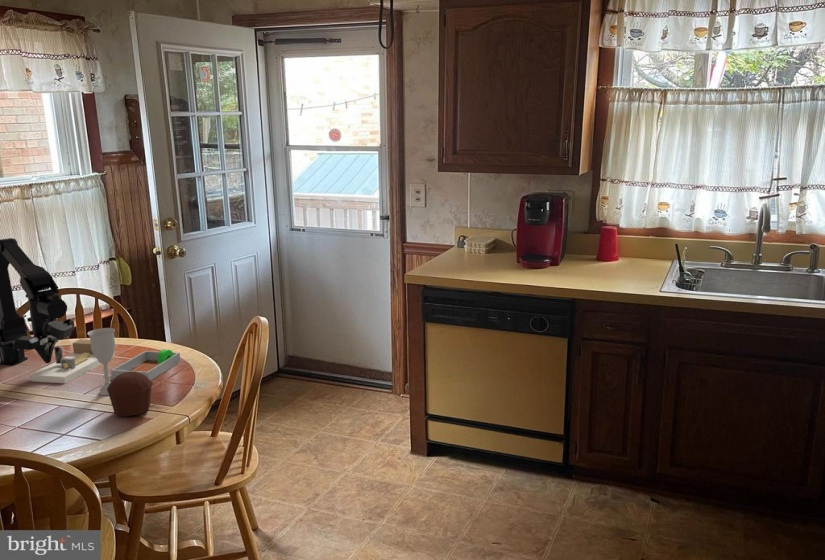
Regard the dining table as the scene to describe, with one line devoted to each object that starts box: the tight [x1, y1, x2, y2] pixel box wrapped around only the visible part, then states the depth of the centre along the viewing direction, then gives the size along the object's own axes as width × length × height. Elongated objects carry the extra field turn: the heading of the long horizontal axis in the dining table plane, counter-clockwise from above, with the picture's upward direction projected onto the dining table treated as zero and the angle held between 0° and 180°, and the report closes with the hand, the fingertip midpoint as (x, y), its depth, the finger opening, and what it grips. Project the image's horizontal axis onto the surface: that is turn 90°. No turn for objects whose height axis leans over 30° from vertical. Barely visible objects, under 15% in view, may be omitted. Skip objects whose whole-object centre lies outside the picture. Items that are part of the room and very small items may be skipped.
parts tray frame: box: [110, 350, 181, 381], centre depth 210 cm, size 12×18×3 cm
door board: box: [28, 338, 116, 384], centre depth 212 cm, size 12×24×6 cm, turn 169°
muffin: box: [107, 370, 153, 417], centre depth 180 cm, size 12×11×10 cm
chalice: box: [87, 327, 116, 396], centre depth 191 cm, size 7×7×18 cm
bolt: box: [53, 345, 90, 368], centre depth 211 cm, size 6×10×6 cm, turn 169°
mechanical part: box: [157, 349, 174, 365], centre depth 215 cm, size 12×6×8 cm, turn 166°
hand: (47, 362), depth 205 cm, fingers closed
